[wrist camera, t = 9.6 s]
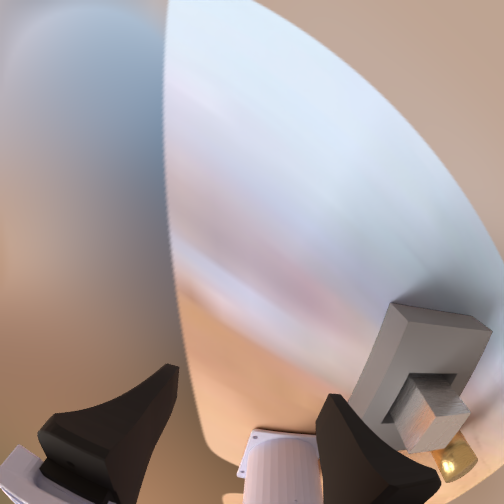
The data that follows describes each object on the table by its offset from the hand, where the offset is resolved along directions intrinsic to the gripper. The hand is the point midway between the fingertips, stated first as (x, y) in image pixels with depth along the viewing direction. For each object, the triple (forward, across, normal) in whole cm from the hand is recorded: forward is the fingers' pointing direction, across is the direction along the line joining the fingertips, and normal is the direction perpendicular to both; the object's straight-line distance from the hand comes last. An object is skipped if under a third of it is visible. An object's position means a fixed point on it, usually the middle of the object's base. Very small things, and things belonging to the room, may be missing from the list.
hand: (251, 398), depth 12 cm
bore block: (+9, -15, +4) cm, 18 cm away
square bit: (+8, -15, +4) cm, 18 cm away
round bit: (+9, -26, +13) cm, 31 cm away
